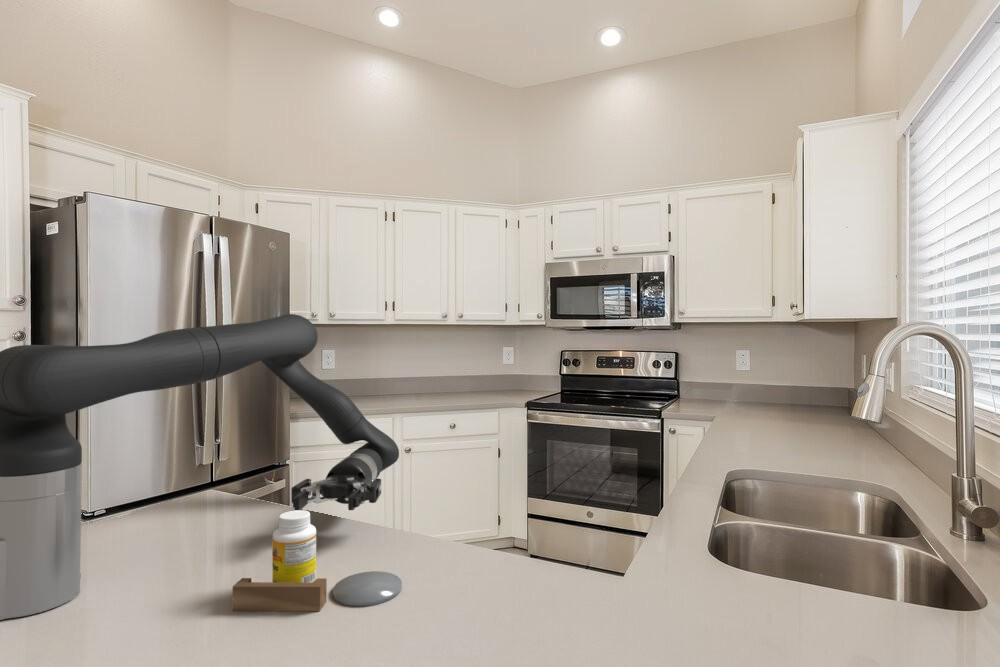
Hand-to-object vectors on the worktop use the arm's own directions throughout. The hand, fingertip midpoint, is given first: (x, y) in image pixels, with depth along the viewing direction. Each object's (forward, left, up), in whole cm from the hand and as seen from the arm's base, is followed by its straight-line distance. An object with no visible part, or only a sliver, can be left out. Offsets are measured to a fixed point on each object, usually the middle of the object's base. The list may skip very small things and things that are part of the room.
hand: (323, 504), depth 84 cm
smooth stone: (-4, -15, -8) cm, 17 cm away
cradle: (-13, -10, -8) cm, 18 cm away
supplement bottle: (-9, -7, -8) cm, 14 cm away
